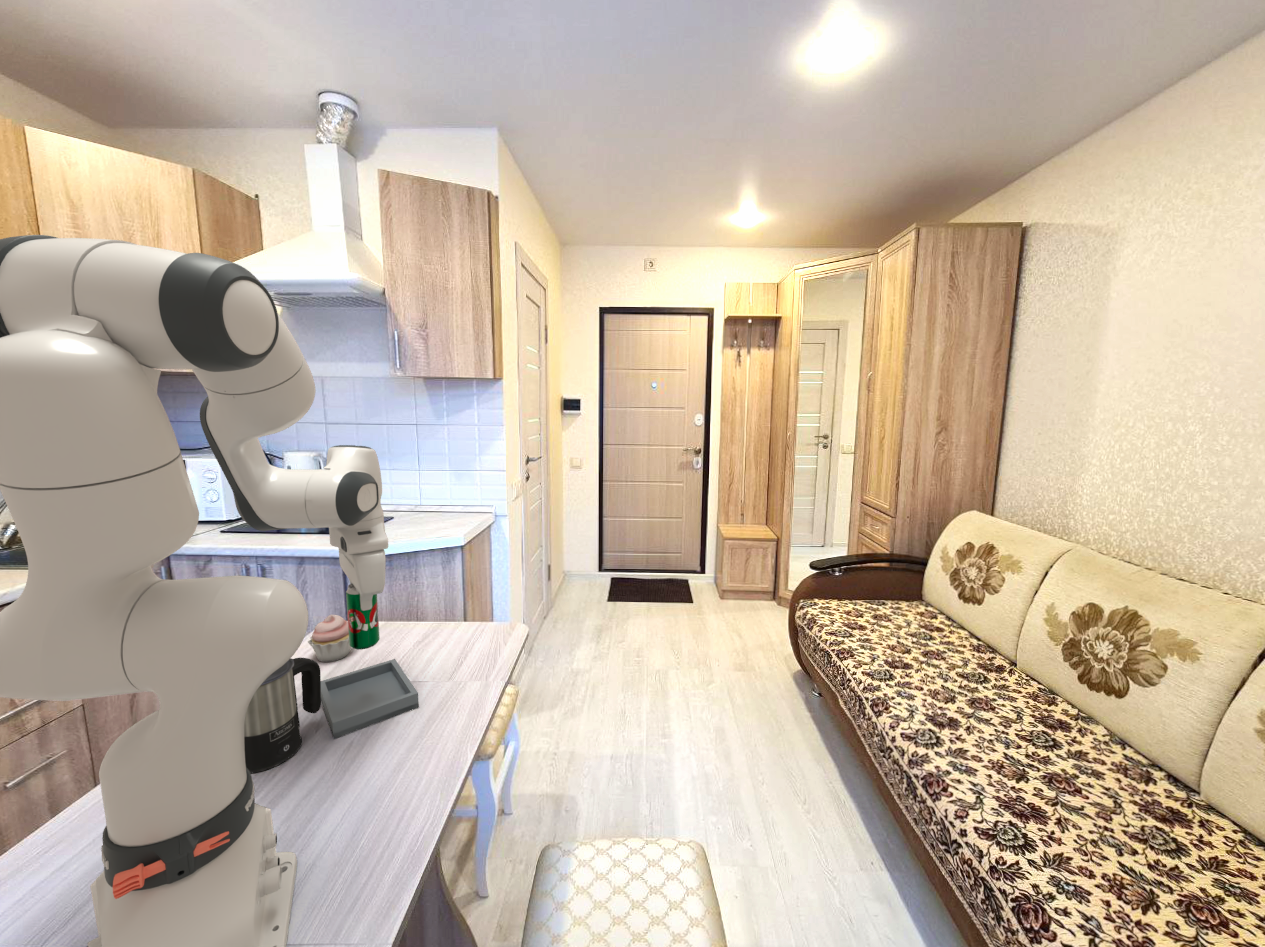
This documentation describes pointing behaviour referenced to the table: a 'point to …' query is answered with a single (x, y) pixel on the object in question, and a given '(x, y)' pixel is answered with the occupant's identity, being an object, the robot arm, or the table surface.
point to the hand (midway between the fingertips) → (362, 603)
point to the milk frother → (279, 714)
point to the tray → (366, 697)
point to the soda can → (361, 621)
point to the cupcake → (331, 639)
